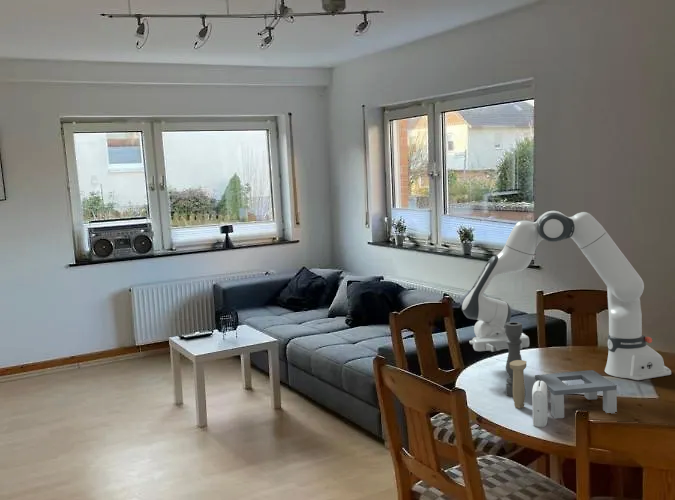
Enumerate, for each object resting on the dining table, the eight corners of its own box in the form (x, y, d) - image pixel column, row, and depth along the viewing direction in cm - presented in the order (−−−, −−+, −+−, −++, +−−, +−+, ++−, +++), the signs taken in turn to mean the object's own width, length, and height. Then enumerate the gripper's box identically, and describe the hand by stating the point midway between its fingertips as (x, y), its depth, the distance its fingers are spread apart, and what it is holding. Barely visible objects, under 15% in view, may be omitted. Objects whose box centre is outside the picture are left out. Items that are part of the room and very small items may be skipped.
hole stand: (593, 395, 225) (592, 370, 224) (616, 413, 209) (616, 385, 208) (535, 401, 224) (534, 375, 223) (554, 418, 208) (554, 390, 207)
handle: (530, 405, 220) (529, 361, 218) (521, 411, 215) (520, 366, 213) (516, 402, 223) (515, 359, 221) (508, 408, 218) (506, 364, 216)
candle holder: (525, 397, 228) (523, 325, 224) (506, 397, 229) (504, 326, 226) (524, 391, 234) (522, 321, 231) (505, 391, 235) (503, 321, 232)
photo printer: (546, 428, 201) (546, 388, 200) (532, 427, 203) (531, 387, 201) (548, 415, 211) (547, 377, 209) (534, 414, 212) (533, 377, 211)
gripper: (467, 332, 249) (478, 341, 236) (520, 327, 251) (534, 337, 237) (468, 348, 250) (478, 359, 236) (521, 344, 252) (535, 354, 238)
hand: (507, 348), depth 237 cm, fingers open, 8 cm apart
